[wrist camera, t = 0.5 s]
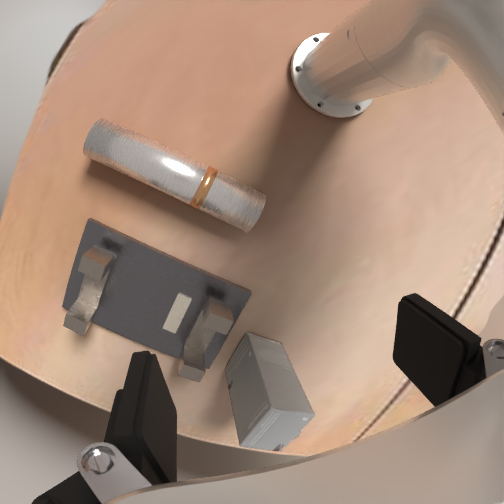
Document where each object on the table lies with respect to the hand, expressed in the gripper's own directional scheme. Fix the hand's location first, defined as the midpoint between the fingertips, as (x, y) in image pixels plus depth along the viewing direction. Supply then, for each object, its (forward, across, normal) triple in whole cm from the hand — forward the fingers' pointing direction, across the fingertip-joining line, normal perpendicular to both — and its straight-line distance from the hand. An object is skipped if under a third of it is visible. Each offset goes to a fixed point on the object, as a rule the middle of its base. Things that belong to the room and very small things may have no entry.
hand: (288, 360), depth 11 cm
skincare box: (+31, -1, +22) cm, 38 cm away
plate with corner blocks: (+31, +12, +10) cm, 34 cm away
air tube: (+28, +5, -6) cm, 29 cm away
